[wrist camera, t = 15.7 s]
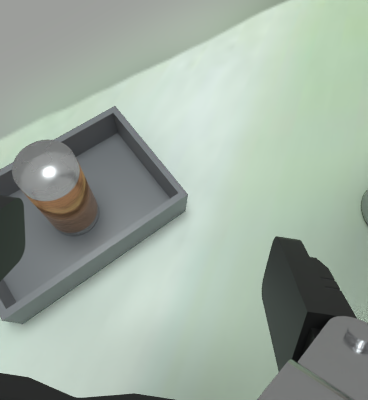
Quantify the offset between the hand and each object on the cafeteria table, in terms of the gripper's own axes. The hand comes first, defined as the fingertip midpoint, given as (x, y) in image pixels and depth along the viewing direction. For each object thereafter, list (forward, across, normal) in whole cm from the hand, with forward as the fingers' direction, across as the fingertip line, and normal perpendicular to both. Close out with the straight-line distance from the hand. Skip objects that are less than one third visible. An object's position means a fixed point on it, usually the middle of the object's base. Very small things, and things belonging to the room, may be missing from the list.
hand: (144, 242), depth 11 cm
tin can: (+31, +13, +15) cm, 37 cm away
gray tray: (+32, +13, +16) cm, 38 cm away
